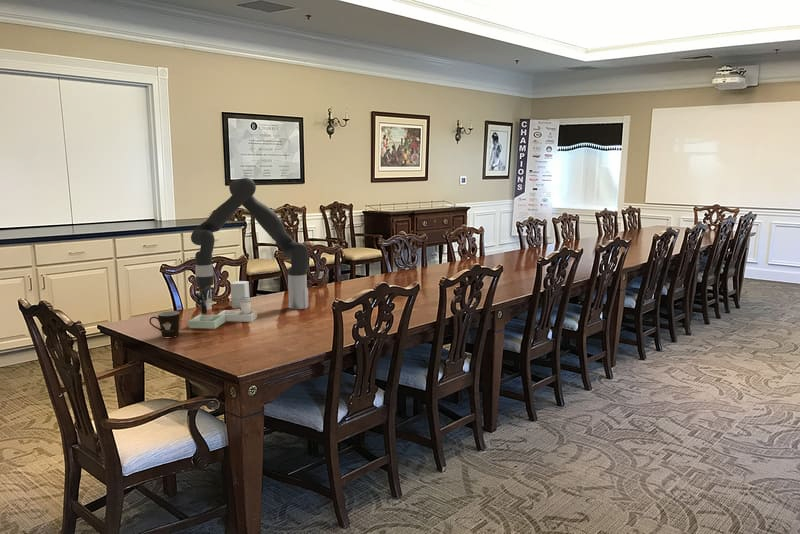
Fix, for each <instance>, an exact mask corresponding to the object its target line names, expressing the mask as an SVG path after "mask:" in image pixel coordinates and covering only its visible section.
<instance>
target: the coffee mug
mask: <svg viewBox="0 0 800 534" xmlns="http://www.w3.org/2000/svg"><path fill="white" fill-rule="evenodd" d="M152 319H155V320H157V321H158V322H159V326H160V327H158V326H156V325H154V324H153V323H152ZM148 321H149V322H148V323H149V324H150V325H151V326H152V327H153V328H155V329H156V330H159V331H160V333H161V337H162V336H163V337H174V336H178V337H179V332H180V331H179V329H180V327H179V326H180V312H179V311H178V310H167V311H162V312H159V313H157V316H151V317H150V319H149V320H148Z"/></svg>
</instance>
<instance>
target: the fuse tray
mask: <svg viewBox="0 0 800 534" xmlns="http://www.w3.org/2000/svg"><path fill="white" fill-rule="evenodd" d="M201 317H202V315H201V314H198V315H196V316H195V317H193V318H191V319H190V320H188V321H187V323H188V329H209V330H210V329H213V330H214V329H217V328H218V327H220V326H221V325H222V324H225V323H226V321H225V315H217V314H212V319H213V320H212V321H201ZM213 330H210V332H211V331H213Z"/></svg>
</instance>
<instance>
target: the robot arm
mask: <svg viewBox="0 0 800 534" xmlns="http://www.w3.org/2000/svg"><path fill="white" fill-rule="evenodd" d="M228 189H229V193H230V195H231V196H230V197H228V199H226V200H225V201H224V202H222V203H221V204H220V205H219V206H218V207H217V208H216V209H214V210H213V212H212V213H211V214H210V215H208V216H209V217H207V219H206V220H205V221H203V222H202V223H201V224H199V225H198V226H197V227H196V228H194V230H193V231H192V232H191V235H190V240H191V243H192V244H194V245H195V246H200V249H199V251H197V252H195V254H194V255H195V257H194V258H195V272H194V273H195V285H196V287H199V292H196V298H197V303H198V305H199V306H200V314H201V313H202V314H206V313H207V305H206V304H207V300H208V298H211V300H212V301H214V293H215V287H214V286H213V285H214V284H215V279H214V266H213V252H214V247H215V235H214V233H216V232H217V233H218V231H220V230H221V229H222V228H223V226H224V225H225V224H226V223H227V222H228V220H229V219H230V218H231V217H232V216H233V215H234V214H235V212H236V211H237V210H238V209H239V208H240V207H241V206H243V207H244V208H245V210H247V211H248V213H249V214H250V215H251V217H253V218H254V220H255V221H256V222H257V223H258V224H259V225H260V227H261V228H262V229H263V230H264V232H266V233H267V234H268V235H269V237H270V238H271V239H273V241H274V242H275V243H276V244H277V246H278V247H279V248H280V250H281V251H282V252H283V254H284V256H285V257H286V258H287V259H289V260H291V266H290V267H289V268H288V269H287V283H288V284H287V285H288V286H287V287H288V308H289V309H290V310H307V308H308V307H309V288H308V287H307V286H308V283H307V282H308V281H307V278H308V277H307V270H308V269H309V250H308V247H307V246H306V245H305V244H304V243H301V242H297V241H295V240H294V239H293V238H292V237H291V236H290V235H289V234H288V232H287V231H286V229H285V225H284V223H283V221H282V220H281V218H280V217H279V215H277V214H276V212H275V211H274V210H273V209H272V208H271V207H269V206H267V205H266V204H264V203H263V202H261V201H260V200H258V199H257V198H256V197H255V196H254V195H255V193H256V189H257V186H256V183H255V181H254V180H253V179H251V178H248V177H243V178H237V179H234V180H232V181H231V182H230V183H229V187H228ZM204 300H205V302H204Z"/></svg>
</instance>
